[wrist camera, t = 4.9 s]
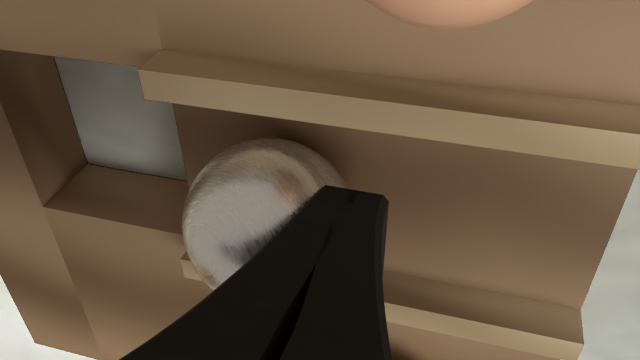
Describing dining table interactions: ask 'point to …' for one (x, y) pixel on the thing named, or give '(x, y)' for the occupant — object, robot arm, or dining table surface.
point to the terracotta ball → (447, 11)
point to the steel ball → (248, 202)
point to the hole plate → (330, 159)
